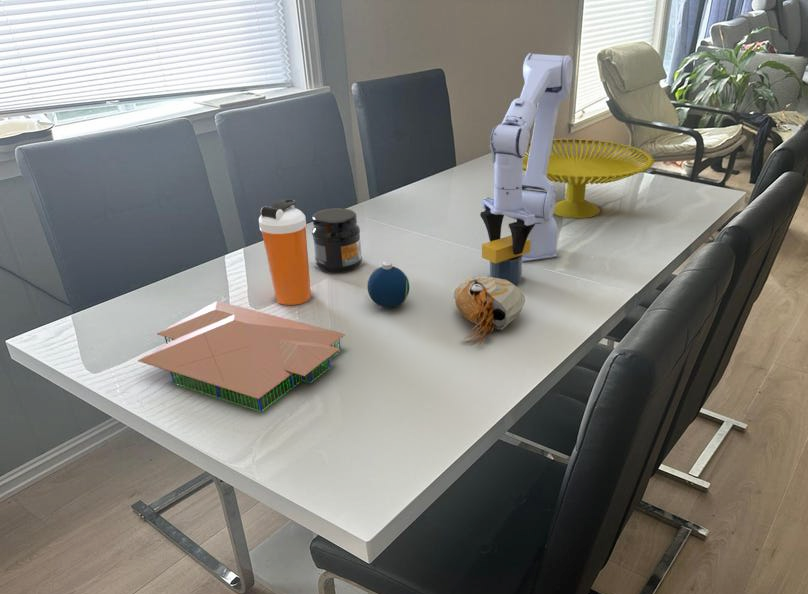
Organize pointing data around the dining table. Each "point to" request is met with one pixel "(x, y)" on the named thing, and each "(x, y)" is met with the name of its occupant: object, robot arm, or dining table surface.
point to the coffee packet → (502, 249)
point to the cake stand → (588, 172)
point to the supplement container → (336, 240)
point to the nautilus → (488, 303)
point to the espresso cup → (507, 270)
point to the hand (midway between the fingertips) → (506, 248)
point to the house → (243, 351)
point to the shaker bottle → (286, 251)
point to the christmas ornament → (388, 286)
